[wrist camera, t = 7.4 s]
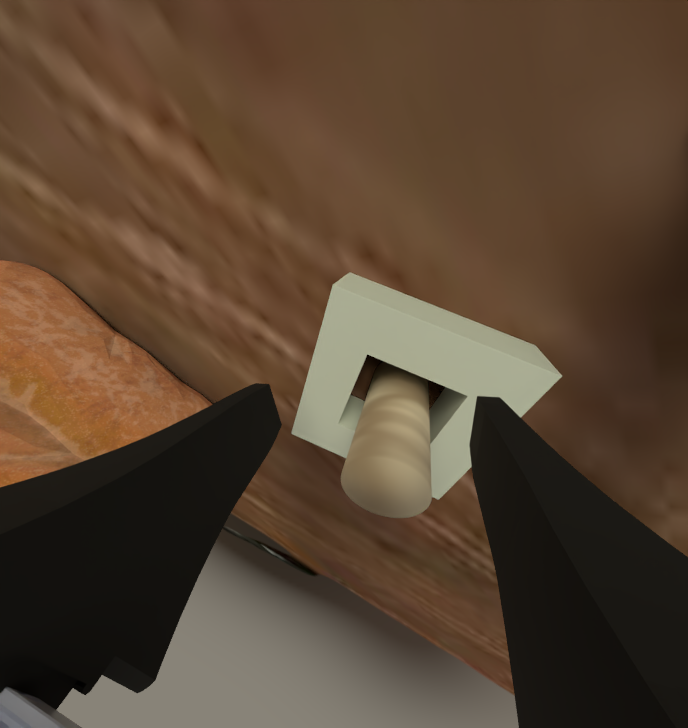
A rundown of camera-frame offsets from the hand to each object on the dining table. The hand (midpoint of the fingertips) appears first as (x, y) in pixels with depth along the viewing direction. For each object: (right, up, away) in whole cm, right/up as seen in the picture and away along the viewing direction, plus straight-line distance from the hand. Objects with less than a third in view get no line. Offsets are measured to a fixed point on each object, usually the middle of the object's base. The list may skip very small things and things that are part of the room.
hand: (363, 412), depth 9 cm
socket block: (+3, 0, +10) cm, 10 cm away
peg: (+3, 0, +10) cm, 10 cm away
